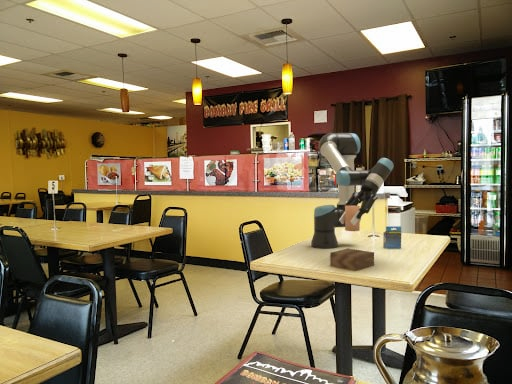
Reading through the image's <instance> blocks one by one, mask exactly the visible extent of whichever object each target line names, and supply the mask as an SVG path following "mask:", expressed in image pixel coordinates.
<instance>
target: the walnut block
mask: <svg viewBox="0 0 512 384" xmlns="http://www.w3.org/2000/svg"><path fill="white" fill-rule="evenodd" d="M329 258H330V259H329V261H330V263H329V265H330V266H331V267H335V268H340V269H347V270H351V271H355V272H357V271H360V270H364V269H367V268H370V267H374V266H375V252H374V251H369V250H367V251H366V250H361V249H354V248H343V249H340V250H336V251H331V252H330V255H329Z"/></svg>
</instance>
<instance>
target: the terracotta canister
mask: <svg viewBox="0 0 512 384" xmlns="http://www.w3.org/2000/svg"><path fill="white" fill-rule="evenodd" d="M360 207H361V205H357V206H355V205H348V206H345V227H344V231H346V232H360V228H361V227H360V225H361V223H360V222H361V220H360V219H359V220H358V221H357V223H356V224H355V226H353V224H352V223H351V222H350V221H351V220H352V218H353V217H354V215H355V214H356V212H357V211H360V210H359V209H360Z"/></svg>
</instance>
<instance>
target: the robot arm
mask: <svg viewBox="0 0 512 384" xmlns="http://www.w3.org/2000/svg"><path fill="white" fill-rule="evenodd" d="M360 140H361V139H360V138H359V136H358V135H357V134H356V133H354V132H353V133H352V132H351V133H350V132H329V133H327V134H324V135H323V136H322V137H321V138H320V140H319V142H318V147H317V148H318V152H319V153H320V155H321V156H323V157H325V159H326V160H327V161H328V163H329V164H330V166H331V168H332V169H333V171H334V172H335V182H336V183H335V184H336V185H338V195H339V196H338V200H339V201H338V202H337V203H336V205H335V204H324V205H319V206H316V207H314V211H313V212H314V213H313V224H314V225H313V230H314V231H313V236H312V239H311V242H310V246H311V247H312V248H317V249H335V248H338V246H339V242H338V239H337V235H336V230H335V229H336V228H345V206H348V205H355V206H359V204H361V205H360V209H359V210H360V211H357V212H356V214H355V215H354V217H353V218H352V220H351V221H350V222H351V223H352V224H353V226H355V224H356V223H357V221H358V220H359V219H360V221H361V220H362V217H363V215H364V214H369V212H370V211H371V208H373V205H374V204H375V201H376V200H378V196H377V193H378V192H379V190H380V188H381V187H382V185H383V184H384V183H385V181H386V180H387V178H388V176H389V175H390V174H391V173H392V171H393V169H394V163H393V161H392V160H390V159H389V158H386V157H381V158H380V159H379V160H378V161H377V162H376V164H375V165H374V166H373V167H371V169H365V170H361V169H360V170H359V169H357V170H356V169H355V162H354V161H355V159H356V158H357V154H359V152H360V151H361V150H360V149H361V141H360ZM356 186H359V187H360V191H358V192H357V193H355V187H356Z"/></svg>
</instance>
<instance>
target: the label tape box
mask: <svg viewBox="0 0 512 384" xmlns="http://www.w3.org/2000/svg"><path fill="white" fill-rule="evenodd" d="M383 248H385V249H386V248H387V249H402V226H400V225H399V226H396V225H395V226H394V225H393V226H390V225H389V226H385V231H384V232H383Z"/></svg>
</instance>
